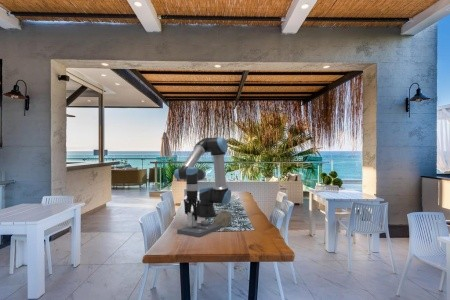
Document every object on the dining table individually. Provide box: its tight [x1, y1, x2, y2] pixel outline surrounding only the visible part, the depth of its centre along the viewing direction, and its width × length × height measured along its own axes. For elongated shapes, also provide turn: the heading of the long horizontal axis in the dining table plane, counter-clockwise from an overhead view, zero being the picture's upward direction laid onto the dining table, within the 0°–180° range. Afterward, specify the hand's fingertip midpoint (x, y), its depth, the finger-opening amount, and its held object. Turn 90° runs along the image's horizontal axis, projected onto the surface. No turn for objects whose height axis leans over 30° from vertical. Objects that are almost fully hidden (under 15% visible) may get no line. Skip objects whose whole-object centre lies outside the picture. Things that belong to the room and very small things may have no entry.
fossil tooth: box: [211, 210, 233, 228], centre depth 236 cm, size 12×6×15 cm
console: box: [176, 220, 221, 238], centre depth 221 cm, size 18×24×5 cm
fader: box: [187, 210, 197, 228], centre depth 222 cm, size 4×6×10 cm, turn 148°
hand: (192, 225), depth 222 cm, fingers closed on fader, 3 cm apart
